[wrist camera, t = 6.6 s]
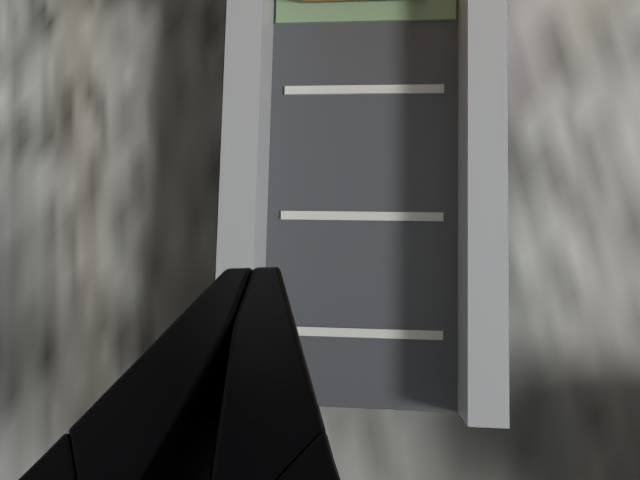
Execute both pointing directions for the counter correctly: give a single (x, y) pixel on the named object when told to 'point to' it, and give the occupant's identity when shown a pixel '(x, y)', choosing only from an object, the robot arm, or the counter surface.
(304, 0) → the fader knob
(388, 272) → the fader console
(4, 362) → the counter surface
